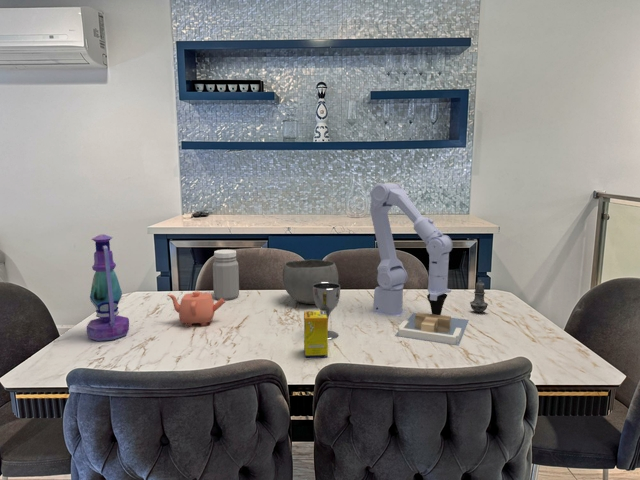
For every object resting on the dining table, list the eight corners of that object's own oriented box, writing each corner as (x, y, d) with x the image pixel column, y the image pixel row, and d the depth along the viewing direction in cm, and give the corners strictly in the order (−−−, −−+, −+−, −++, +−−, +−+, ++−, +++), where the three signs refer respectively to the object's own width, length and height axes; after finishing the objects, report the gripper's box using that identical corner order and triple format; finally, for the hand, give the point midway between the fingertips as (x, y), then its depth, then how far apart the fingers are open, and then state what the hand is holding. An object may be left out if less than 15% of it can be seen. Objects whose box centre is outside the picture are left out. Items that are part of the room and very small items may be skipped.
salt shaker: (488, 317, 150) (490, 281, 148) (470, 315, 151) (472, 281, 149) (486, 311, 156) (488, 277, 154) (468, 310, 157) (470, 277, 155)
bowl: (348, 299, 170) (348, 260, 168) (319, 313, 153) (319, 270, 151) (303, 291, 181) (303, 255, 179) (271, 304, 164) (271, 263, 162)
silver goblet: (343, 331, 136) (343, 283, 133) (335, 341, 128) (335, 290, 126) (318, 328, 138) (318, 281, 136) (309, 337, 131) (308, 287, 128)
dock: (396, 335, 131) (396, 328, 131) (403, 326, 139) (404, 320, 138) (457, 344, 124) (457, 337, 124) (461, 334, 132) (461, 328, 131)
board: (394, 337, 131) (394, 335, 131) (413, 314, 152) (413, 312, 152) (458, 347, 123) (458, 345, 123) (468, 321, 145) (468, 319, 145)
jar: (236, 301, 168) (235, 253, 165) (210, 300, 168) (208, 253, 165) (241, 294, 178) (240, 249, 175) (216, 293, 178) (215, 248, 175)
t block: (417, 324, 140) (417, 312, 140) (450, 329, 136) (450, 316, 136) (409, 335, 131) (409, 322, 130) (444, 340, 127) (445, 327, 126)
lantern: (82, 333, 134) (74, 233, 130) (123, 325, 141) (117, 230, 137) (92, 346, 124) (83, 238, 119) (136, 337, 131) (129, 235, 126)
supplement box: (303, 349, 122) (303, 310, 120) (325, 349, 123) (325, 310, 121) (304, 358, 116) (304, 317, 115) (327, 358, 117) (328, 317, 115)
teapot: (208, 313, 153) (206, 284, 152) (227, 321, 145) (226, 291, 143) (168, 323, 143) (166, 292, 142) (186, 332, 135) (184, 300, 133)
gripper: (447, 281, 131) (445, 325, 133) (455, 271, 144) (452, 312, 147) (423, 278, 134) (421, 322, 136) (432, 269, 147) (430, 309, 149)
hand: (436, 316), depth 142 cm, fingers closed
